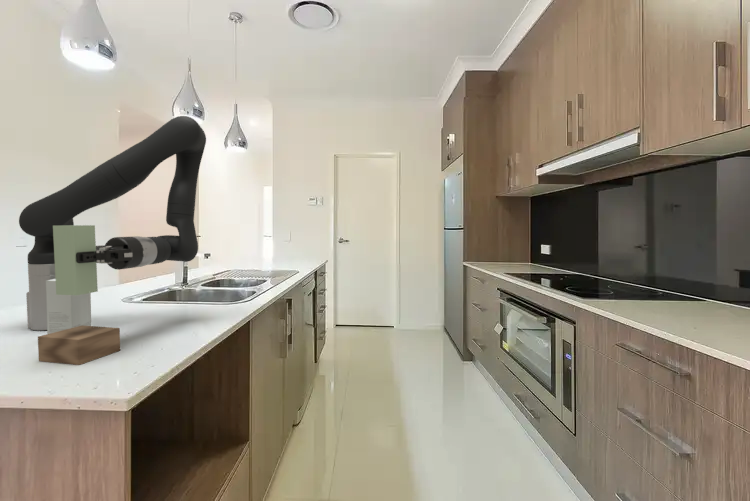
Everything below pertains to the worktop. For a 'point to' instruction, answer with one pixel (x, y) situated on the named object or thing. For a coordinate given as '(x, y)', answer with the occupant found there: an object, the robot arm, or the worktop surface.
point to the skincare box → (66, 309)
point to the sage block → (74, 259)
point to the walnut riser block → (78, 344)
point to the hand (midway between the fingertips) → (66, 257)
